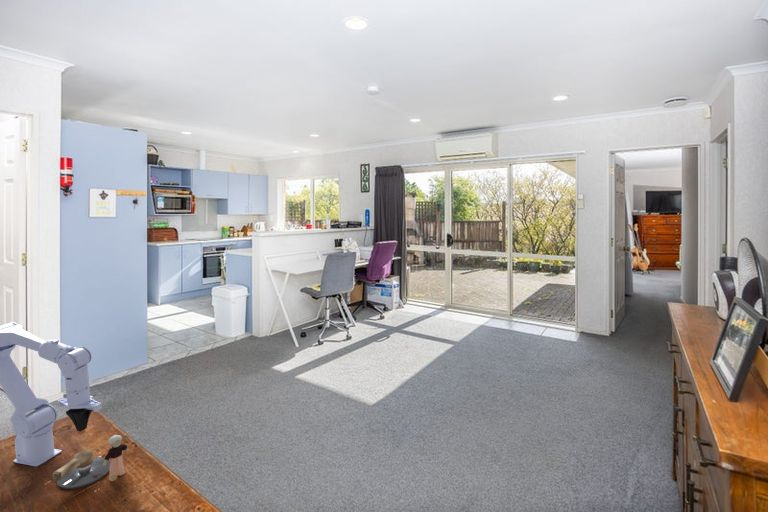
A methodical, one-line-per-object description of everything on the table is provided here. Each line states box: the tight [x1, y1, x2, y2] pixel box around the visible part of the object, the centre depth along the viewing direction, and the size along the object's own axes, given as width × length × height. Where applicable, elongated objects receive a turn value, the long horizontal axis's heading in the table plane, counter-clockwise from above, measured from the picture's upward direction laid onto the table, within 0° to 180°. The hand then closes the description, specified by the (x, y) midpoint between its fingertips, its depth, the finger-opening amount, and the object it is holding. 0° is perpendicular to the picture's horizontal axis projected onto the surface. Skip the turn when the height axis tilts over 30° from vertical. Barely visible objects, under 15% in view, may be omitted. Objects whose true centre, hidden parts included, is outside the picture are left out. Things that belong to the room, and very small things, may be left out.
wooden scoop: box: [52, 449, 94, 482], centre depth 118 cm, size 11×4×3 cm, turn 172°
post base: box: [56, 457, 110, 490], centre depth 121 cm, size 13×13×3 cm
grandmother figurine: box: [102, 434, 130, 482], centre depth 121 cm, size 8×4×13 cm, turn 168°
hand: (82, 429), depth 126 cm, fingers closed
